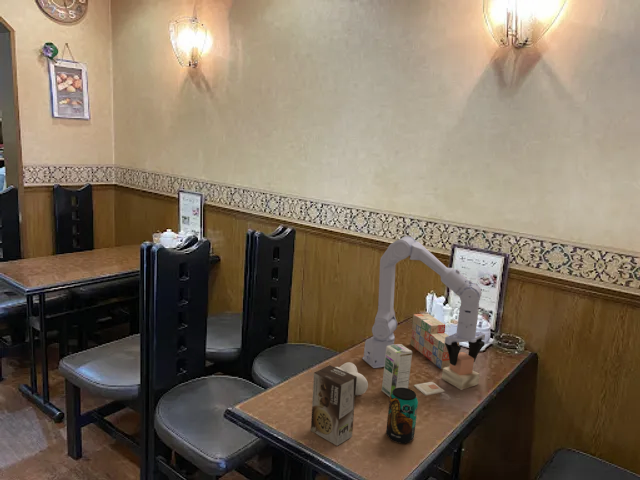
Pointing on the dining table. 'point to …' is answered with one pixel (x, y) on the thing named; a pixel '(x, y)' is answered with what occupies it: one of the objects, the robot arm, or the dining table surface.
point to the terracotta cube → (463, 364)
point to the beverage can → (402, 415)
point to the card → (429, 388)
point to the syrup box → (396, 368)
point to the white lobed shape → (361, 380)
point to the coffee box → (333, 404)
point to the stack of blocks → (430, 339)
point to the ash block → (460, 378)
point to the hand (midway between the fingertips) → (462, 362)
